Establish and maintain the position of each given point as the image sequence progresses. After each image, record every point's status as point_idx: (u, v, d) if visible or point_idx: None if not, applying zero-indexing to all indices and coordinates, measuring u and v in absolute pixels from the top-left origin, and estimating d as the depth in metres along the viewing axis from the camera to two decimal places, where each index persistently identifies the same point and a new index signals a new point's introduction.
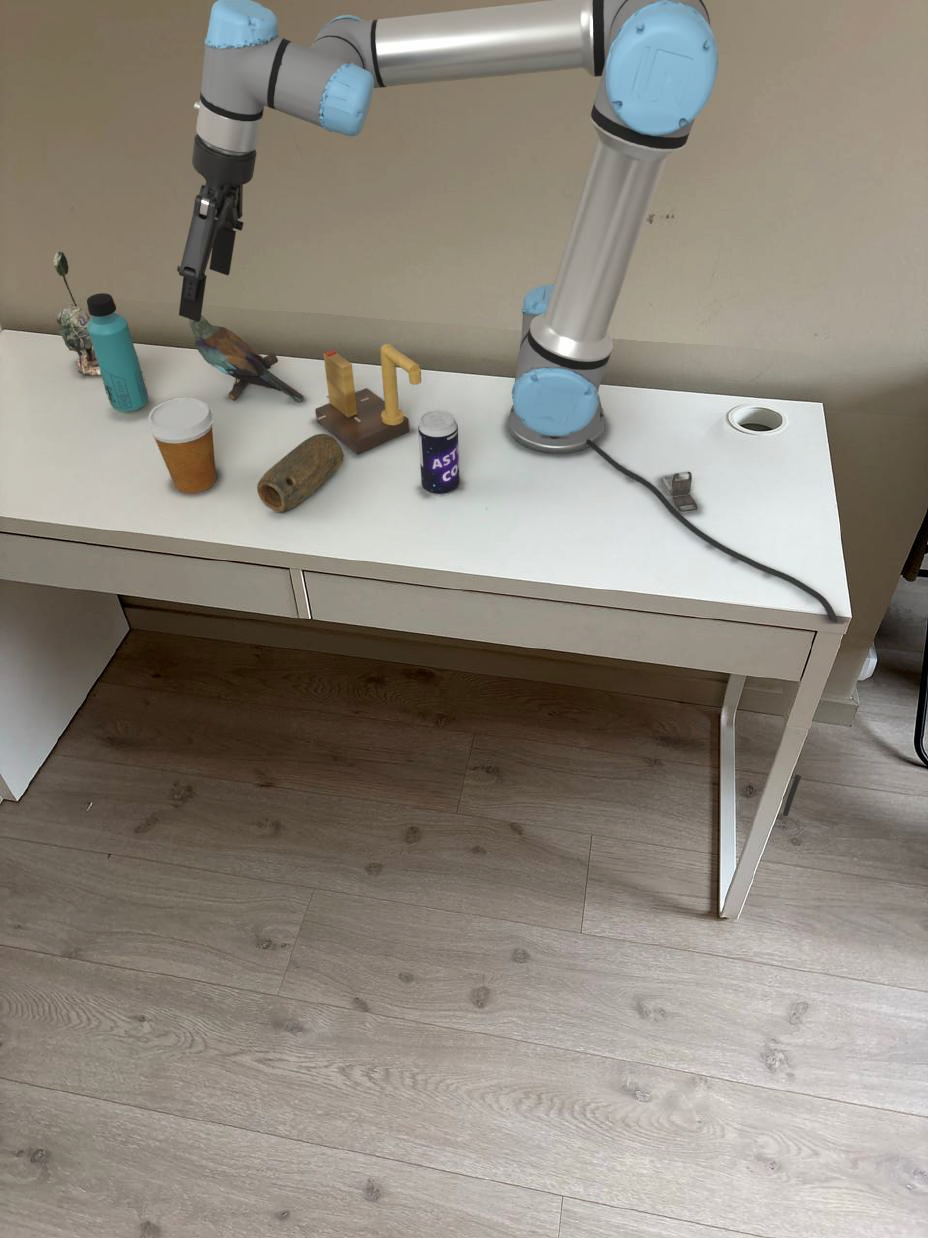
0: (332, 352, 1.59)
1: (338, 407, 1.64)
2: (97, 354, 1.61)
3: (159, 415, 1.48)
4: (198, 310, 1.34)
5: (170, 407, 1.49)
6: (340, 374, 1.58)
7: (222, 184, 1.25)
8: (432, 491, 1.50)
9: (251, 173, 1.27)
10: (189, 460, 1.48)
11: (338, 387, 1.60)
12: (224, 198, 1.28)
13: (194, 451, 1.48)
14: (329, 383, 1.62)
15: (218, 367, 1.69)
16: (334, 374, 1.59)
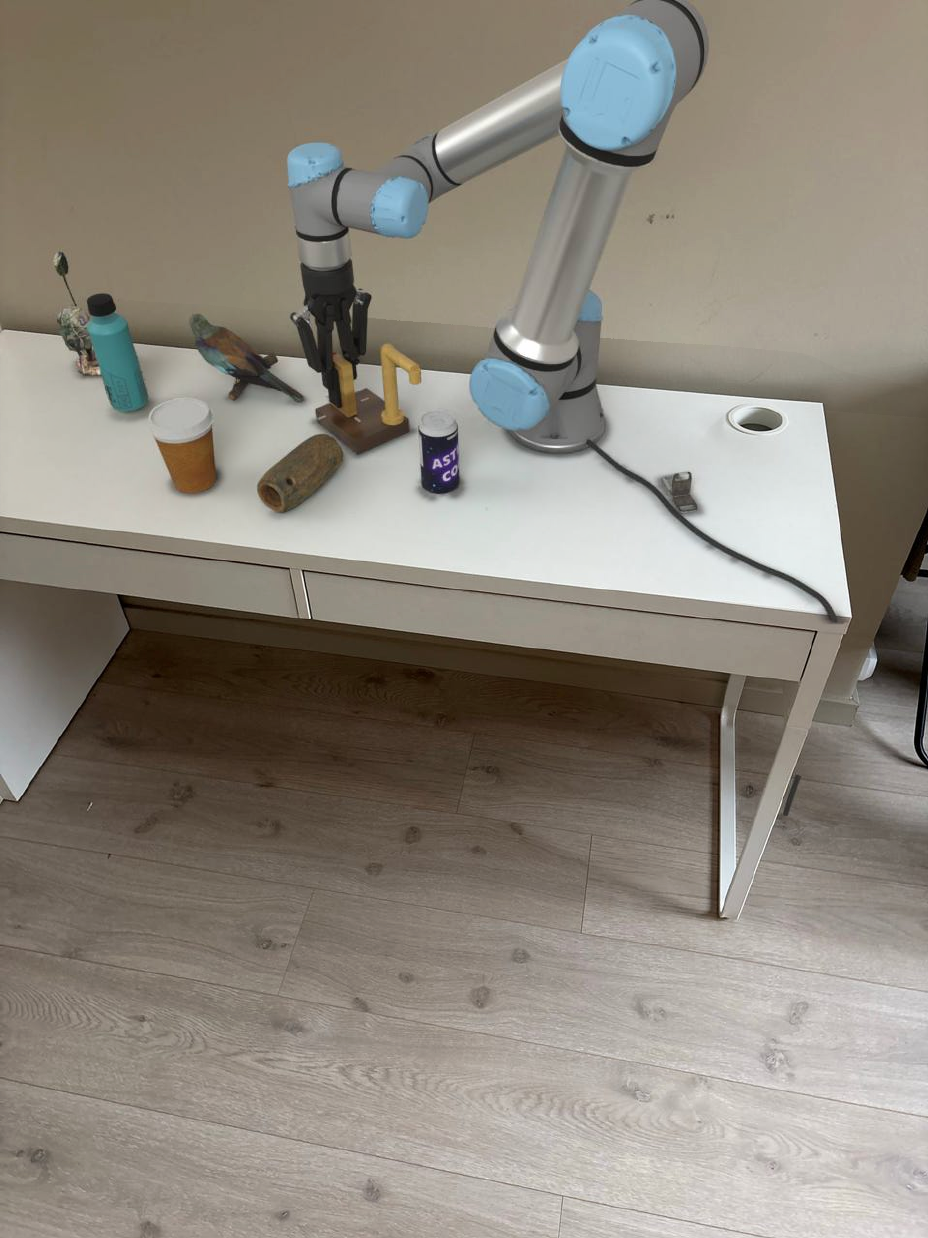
0: None
1: None
2: (97, 354, 1.61)
3: (159, 415, 1.48)
4: (336, 399, 1.61)
5: (170, 407, 1.49)
6: (340, 374, 1.58)
7: (312, 294, 1.48)
8: (432, 491, 1.50)
9: (338, 286, 1.47)
10: (189, 460, 1.48)
11: None
12: (323, 309, 1.50)
13: (194, 452, 1.48)
14: None
15: (218, 367, 1.69)
16: None
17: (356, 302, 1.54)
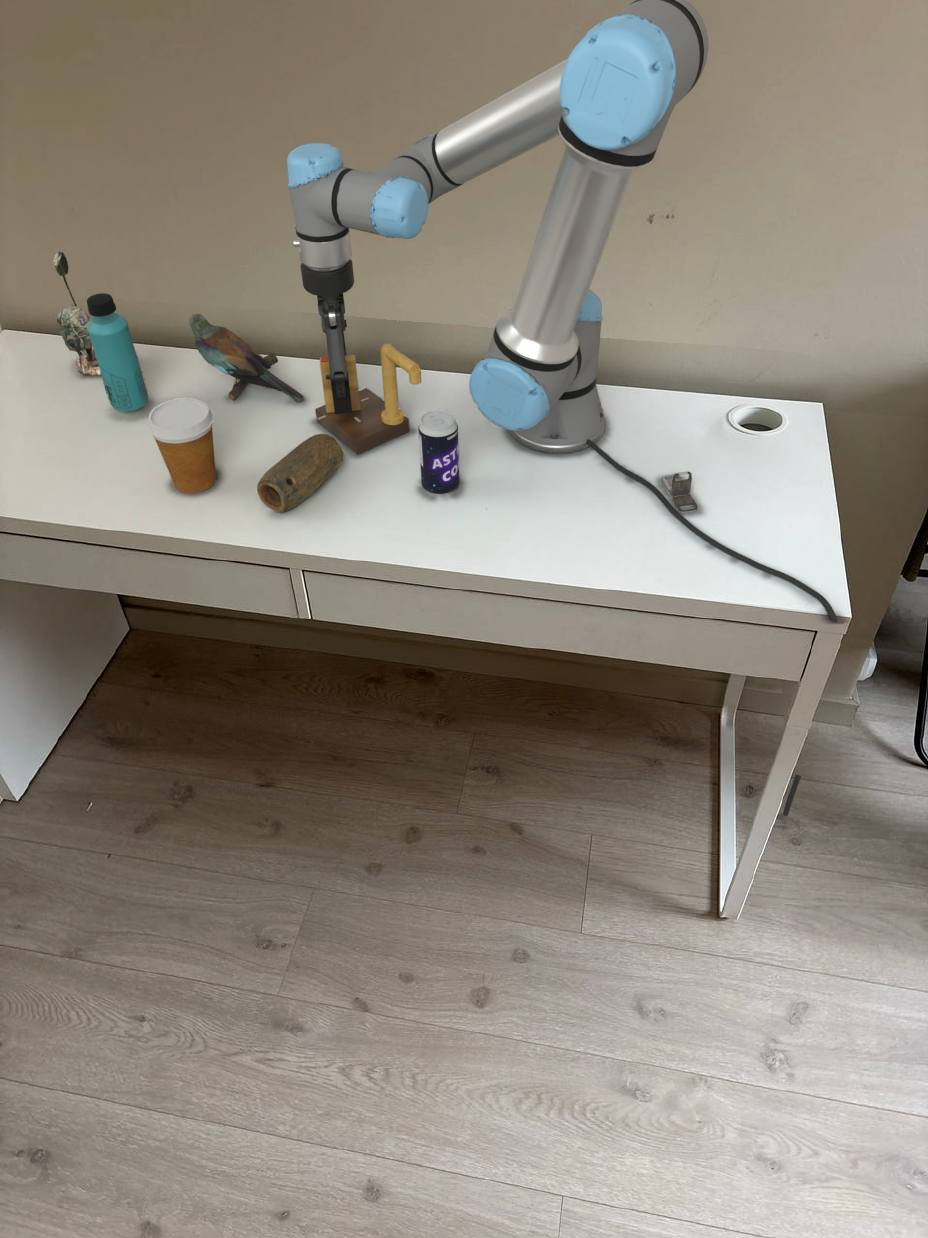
0: (325, 357, 1.58)
1: None
2: (97, 354, 1.61)
3: (159, 415, 1.48)
4: (350, 403, 1.56)
5: (170, 407, 1.49)
6: (352, 368, 1.59)
7: (337, 295, 1.47)
8: (432, 491, 1.50)
9: (353, 276, 1.49)
10: (189, 460, 1.48)
11: None
12: (339, 306, 1.50)
13: (194, 452, 1.48)
14: (328, 390, 1.61)
15: (218, 367, 1.69)
16: None
17: None
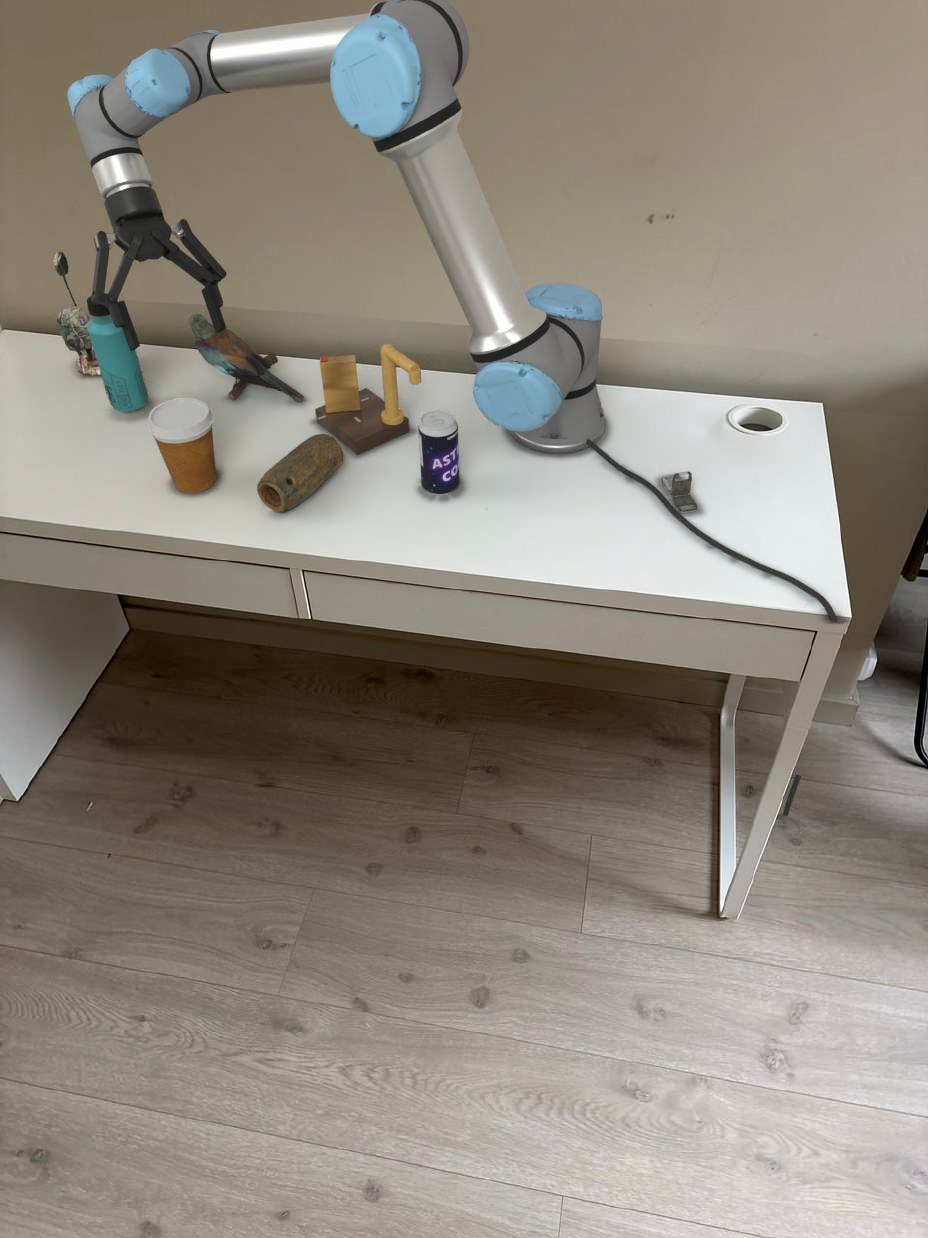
0: (325, 357, 1.58)
1: (343, 408, 1.64)
2: (97, 354, 1.61)
3: (159, 415, 1.48)
4: (130, 335, 1.46)
5: (170, 407, 1.49)
6: (352, 368, 1.59)
7: (116, 220, 1.45)
8: (432, 491, 1.50)
9: (138, 202, 1.44)
10: (189, 460, 1.48)
11: (346, 385, 1.61)
12: (132, 236, 1.46)
13: (194, 452, 1.48)
14: (328, 390, 1.61)
15: (218, 367, 1.69)
16: (340, 374, 1.59)
17: (178, 235, 1.51)
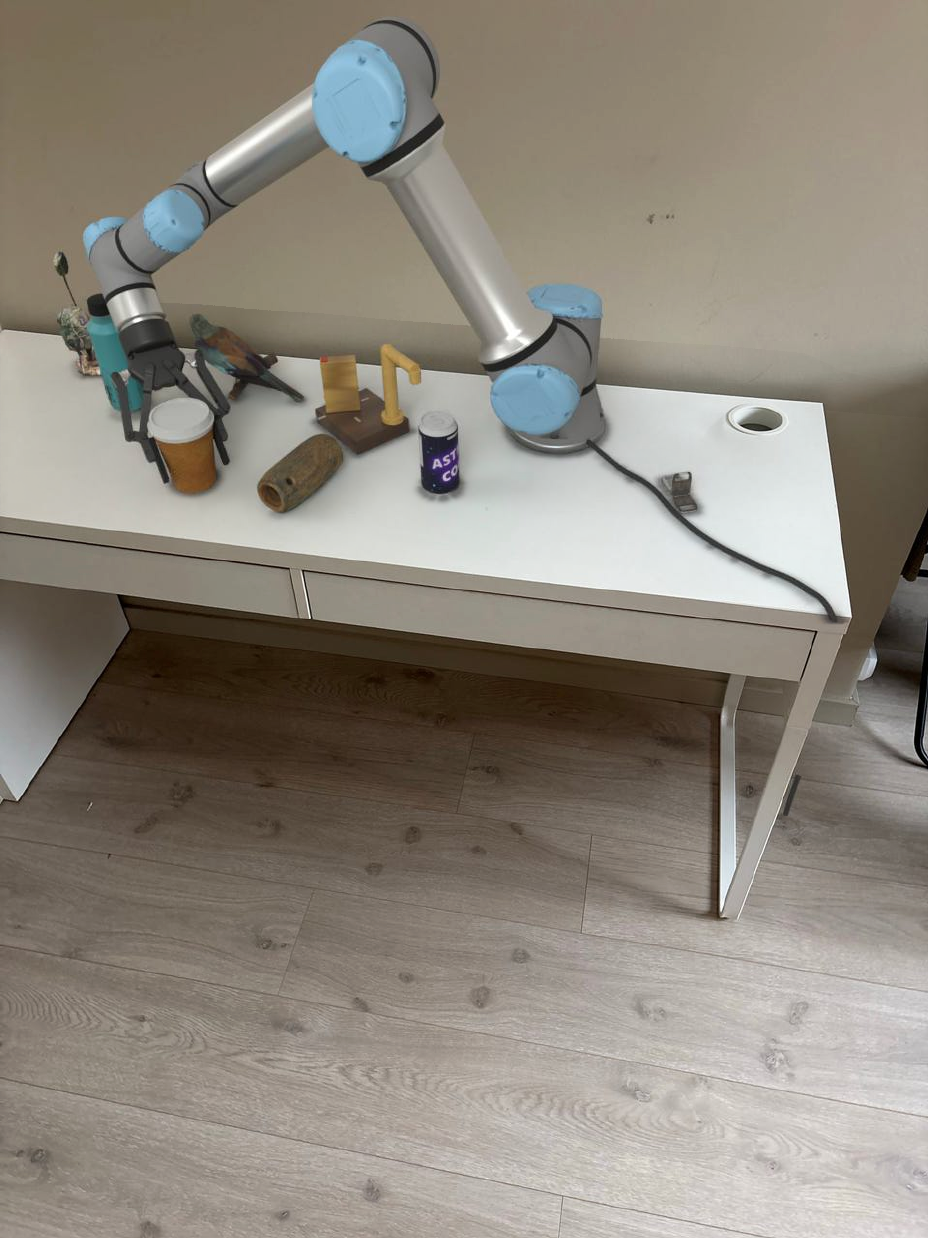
0: (325, 357, 1.58)
1: (343, 408, 1.64)
2: (97, 354, 1.61)
3: (159, 415, 1.48)
4: (160, 470, 1.48)
5: (170, 407, 1.49)
6: (352, 368, 1.59)
7: (127, 354, 1.48)
8: (432, 491, 1.50)
9: (145, 335, 1.46)
10: (189, 460, 1.48)
11: (346, 385, 1.61)
12: (144, 368, 1.48)
13: (194, 452, 1.48)
14: (328, 390, 1.61)
15: (218, 367, 1.69)
16: (340, 374, 1.59)
17: (192, 364, 1.51)
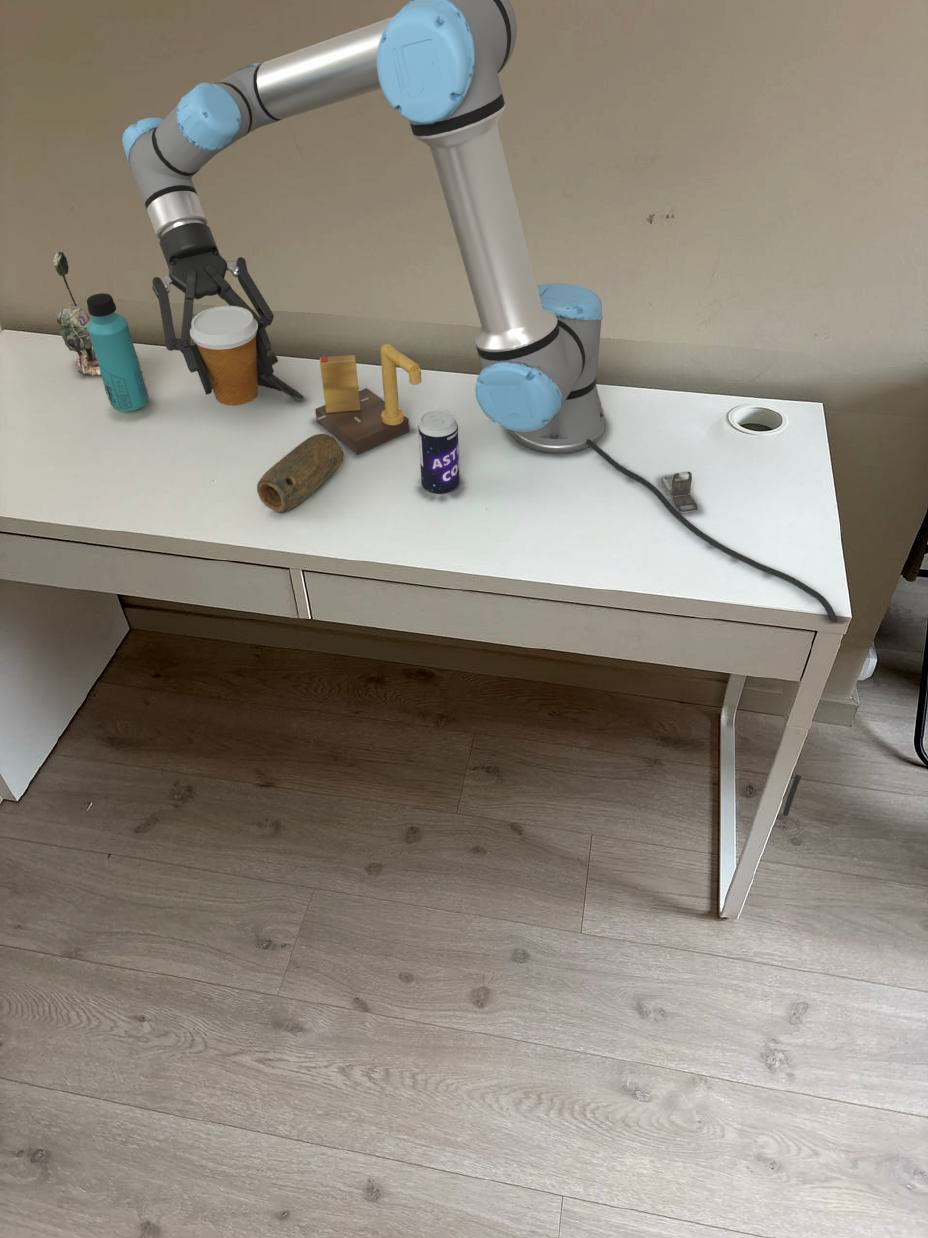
0: (325, 357, 1.58)
1: (343, 408, 1.64)
2: (97, 354, 1.61)
3: (202, 322, 1.43)
4: (203, 378, 1.44)
5: (213, 314, 1.45)
6: (352, 368, 1.59)
7: (169, 260, 1.44)
8: (432, 491, 1.50)
9: (188, 239, 1.42)
10: (232, 368, 1.44)
11: (346, 385, 1.61)
12: (186, 275, 1.44)
13: (238, 359, 1.44)
14: (328, 390, 1.61)
15: None
16: (340, 374, 1.59)
17: (234, 272, 1.47)
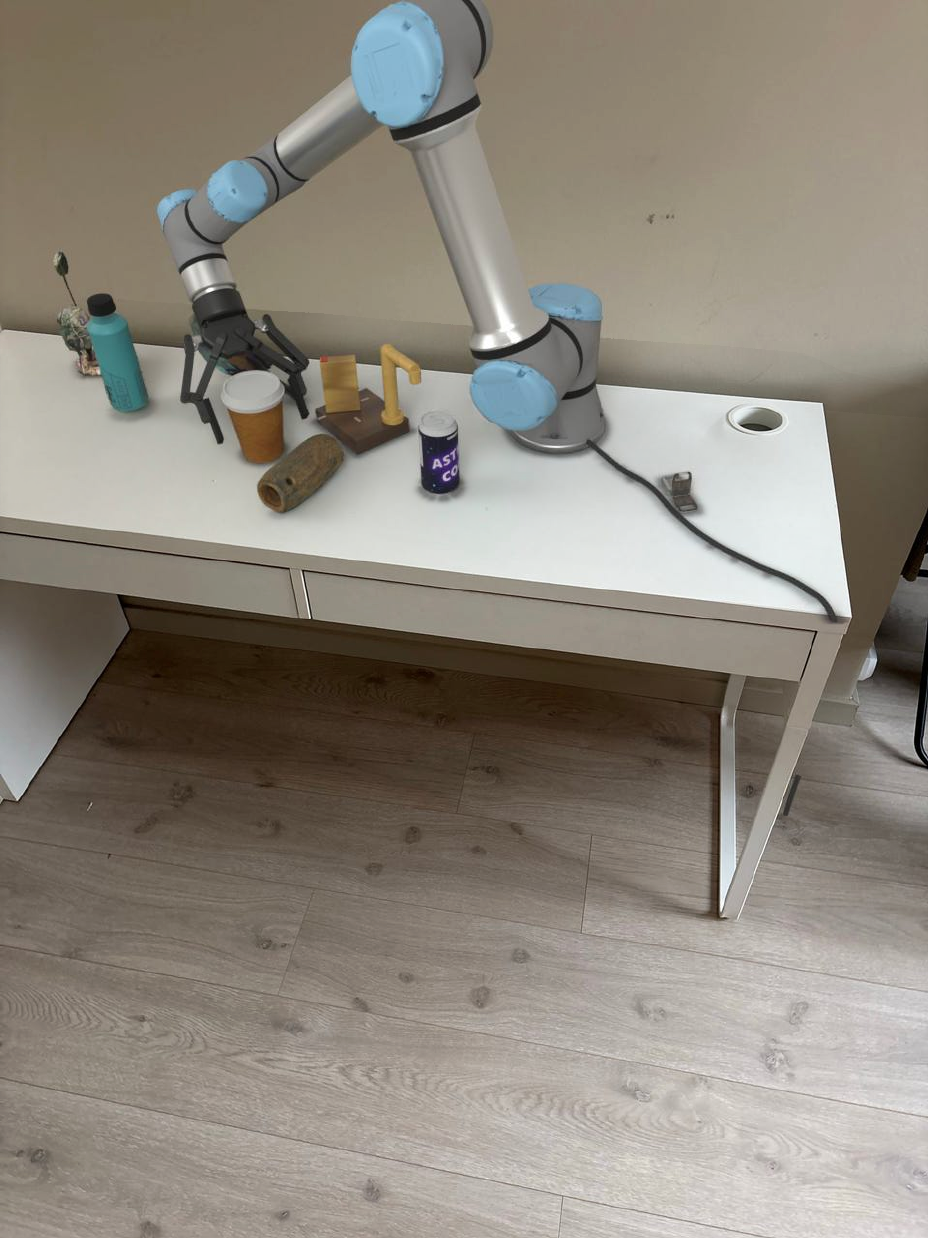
0: (325, 357, 1.58)
1: (343, 408, 1.64)
2: (97, 354, 1.61)
3: (232, 386, 1.53)
4: (215, 430, 1.52)
5: (242, 379, 1.54)
6: (352, 368, 1.59)
7: (201, 323, 1.52)
8: (432, 491, 1.50)
9: (219, 304, 1.51)
10: (260, 430, 1.54)
11: (346, 385, 1.61)
12: (217, 335, 1.53)
13: (266, 422, 1.53)
14: (328, 390, 1.61)
15: (218, 367, 1.69)
16: (340, 374, 1.59)
17: (262, 330, 1.56)
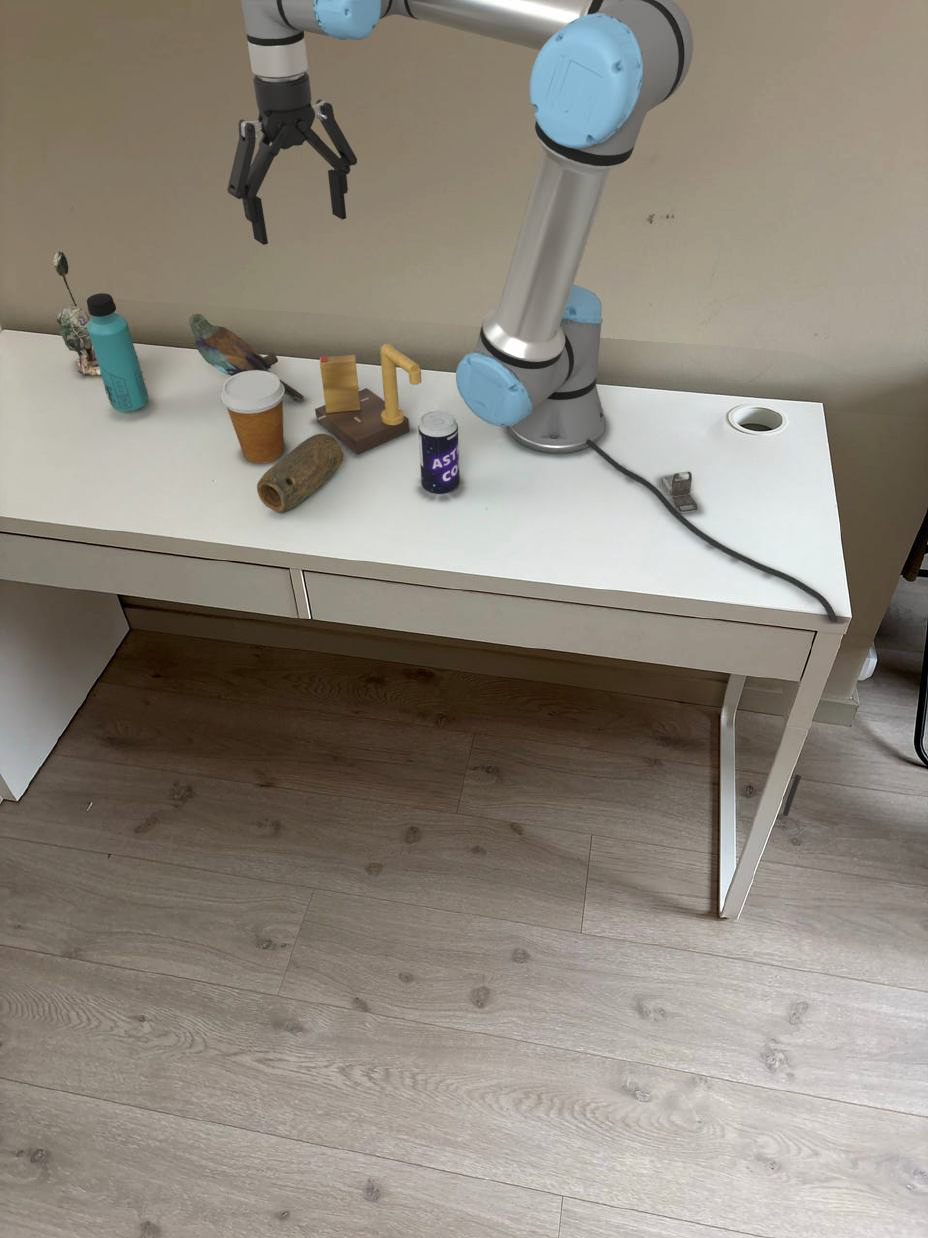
0: (325, 357, 1.58)
1: (343, 408, 1.64)
2: (97, 354, 1.61)
3: (232, 386, 1.53)
4: (261, 233, 1.47)
5: (242, 379, 1.54)
6: (352, 368, 1.59)
7: (266, 110, 1.38)
8: (432, 491, 1.50)
9: (293, 101, 1.37)
10: (260, 430, 1.54)
11: (346, 385, 1.61)
12: (278, 127, 1.40)
13: (266, 422, 1.53)
14: (328, 390, 1.61)
15: (218, 367, 1.69)
16: (340, 374, 1.59)
17: (320, 118, 1.44)
